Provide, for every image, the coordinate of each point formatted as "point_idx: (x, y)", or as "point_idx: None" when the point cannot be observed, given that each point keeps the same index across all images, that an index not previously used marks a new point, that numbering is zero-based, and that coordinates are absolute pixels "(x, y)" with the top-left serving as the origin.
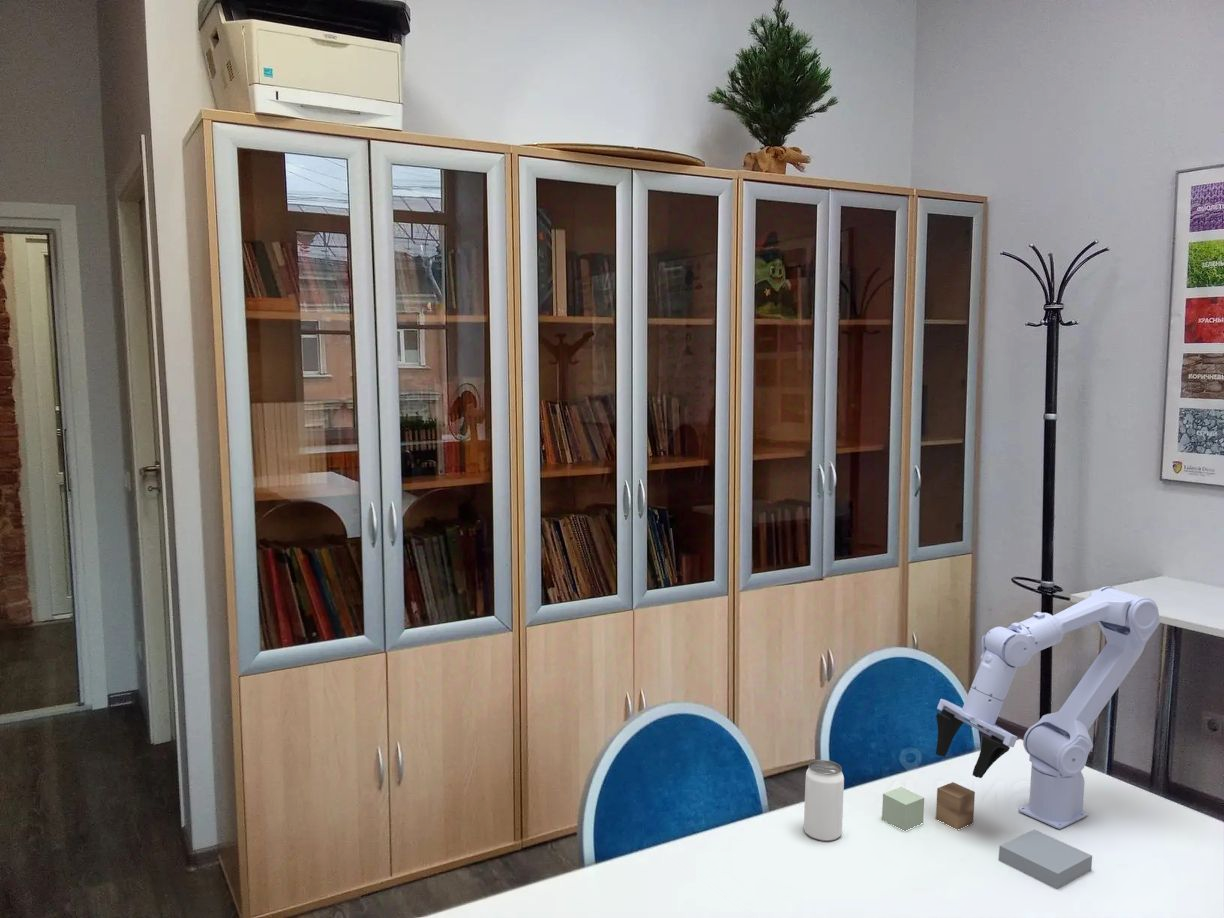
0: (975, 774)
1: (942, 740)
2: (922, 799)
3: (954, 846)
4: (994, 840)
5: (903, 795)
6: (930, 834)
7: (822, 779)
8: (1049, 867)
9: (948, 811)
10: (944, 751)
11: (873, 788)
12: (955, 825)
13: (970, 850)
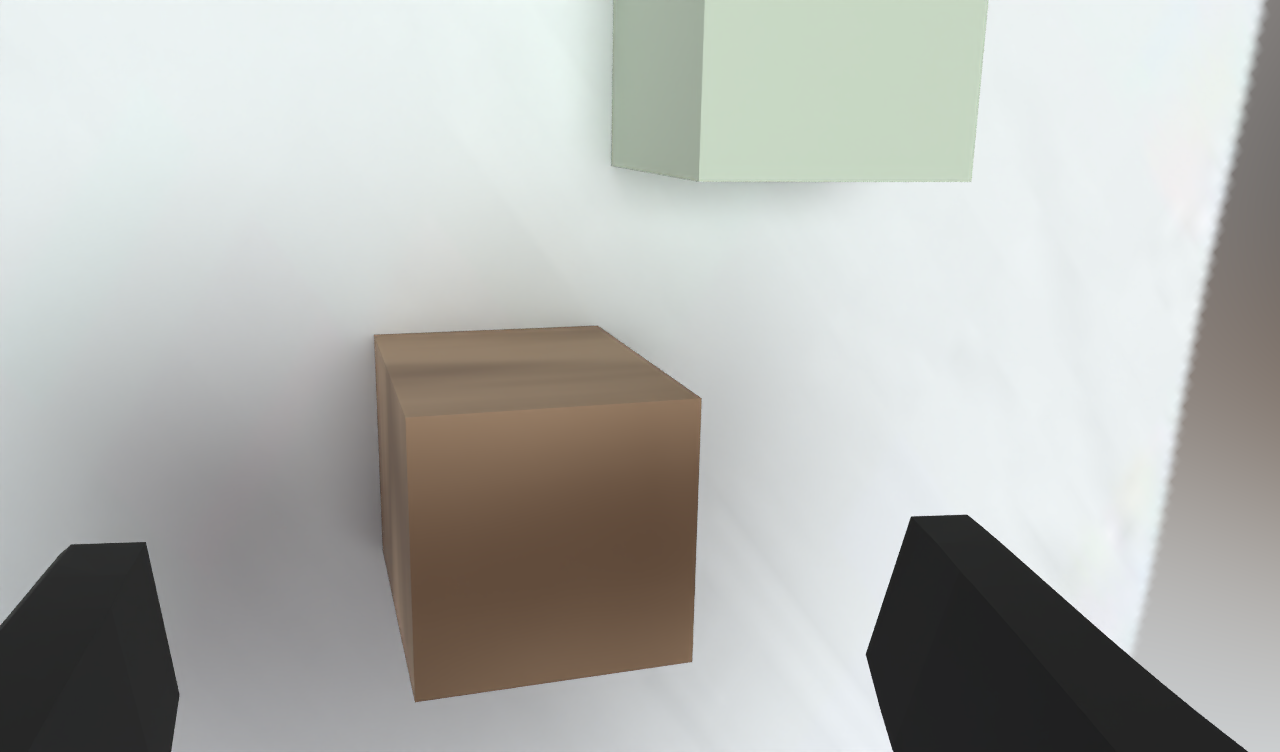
0: (64, 567)
1: (1073, 723)
2: (694, 146)
3: (182, 53)
4: (70, 480)
5: (855, 27)
6: (457, 59)
7: None
8: None
9: (500, 357)
10: (913, 681)
11: (1154, 314)
12: (403, 342)
13: (43, 120)
